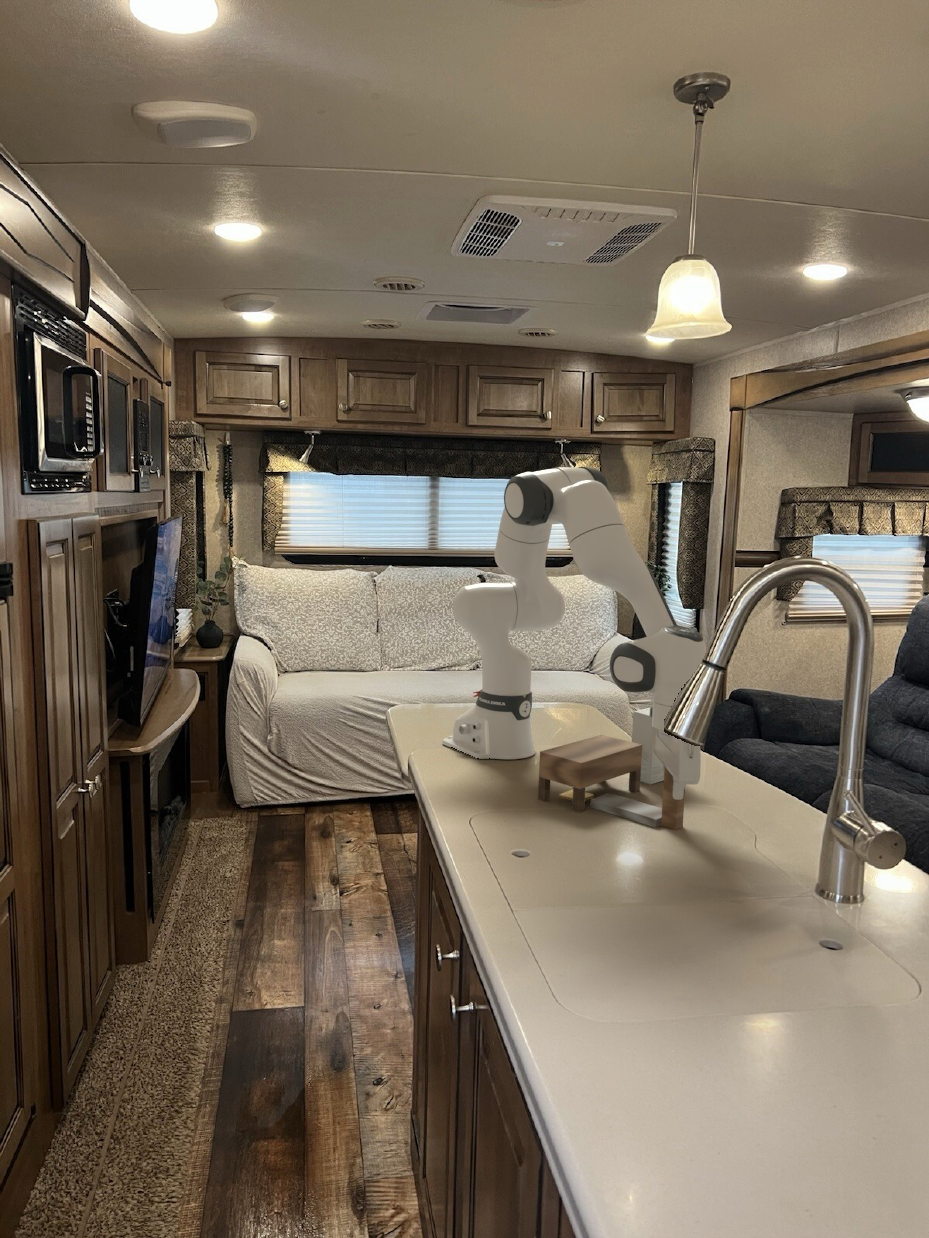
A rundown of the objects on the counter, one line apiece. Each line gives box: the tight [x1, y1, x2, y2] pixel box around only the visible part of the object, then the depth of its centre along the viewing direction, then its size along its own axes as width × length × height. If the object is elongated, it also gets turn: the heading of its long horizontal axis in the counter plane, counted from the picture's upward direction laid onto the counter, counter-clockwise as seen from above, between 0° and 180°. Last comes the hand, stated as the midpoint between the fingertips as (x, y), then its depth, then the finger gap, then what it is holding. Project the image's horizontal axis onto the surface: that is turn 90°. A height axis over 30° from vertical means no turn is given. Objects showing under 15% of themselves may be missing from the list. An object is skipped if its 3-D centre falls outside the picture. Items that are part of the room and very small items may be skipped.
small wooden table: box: [537, 734, 642, 813], centre depth 181 cm, size 10×20×10 cm, turn 135°
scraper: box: [590, 751, 686, 830], centre depth 170 cm, size 18×6×14 cm, turn 45°
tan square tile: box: [558, 788, 595, 802], centre depth 180 cm, size 5×5×1 cm
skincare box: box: [631, 707, 664, 785], centre depth 193 cm, size 8×6×15 cm
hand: (673, 793), depth 165 cm, fingers closed on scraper, 4 cm apart
